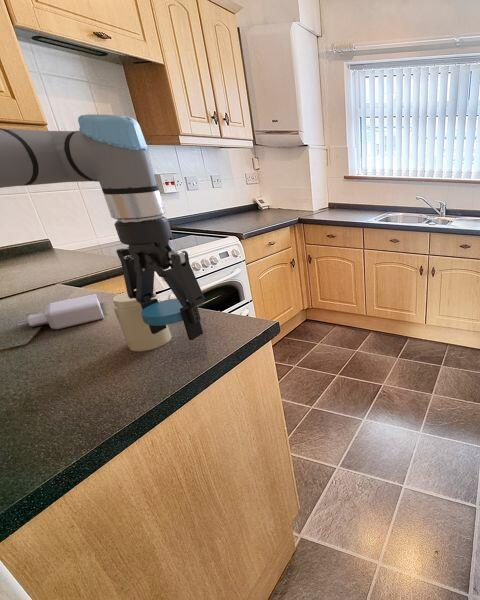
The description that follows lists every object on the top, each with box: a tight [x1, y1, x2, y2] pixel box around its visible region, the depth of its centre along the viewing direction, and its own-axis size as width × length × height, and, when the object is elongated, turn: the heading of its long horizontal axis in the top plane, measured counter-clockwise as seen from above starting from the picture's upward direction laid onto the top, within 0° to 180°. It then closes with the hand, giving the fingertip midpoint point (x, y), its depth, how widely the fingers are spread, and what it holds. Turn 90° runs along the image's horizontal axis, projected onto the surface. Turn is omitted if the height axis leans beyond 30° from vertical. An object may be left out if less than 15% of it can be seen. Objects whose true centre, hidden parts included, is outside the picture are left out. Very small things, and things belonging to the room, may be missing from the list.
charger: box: [16, 293, 105, 330], centre depth 83 cm, size 5×9×15 cm
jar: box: [112, 289, 173, 352], centre depth 73 cm, size 8×8×12 cm
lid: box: [141, 297, 188, 326], centre depth 64 cm, size 9×9×2 cm
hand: (177, 333), depth 67 cm, fingers closed on lid, 8 cm apart
